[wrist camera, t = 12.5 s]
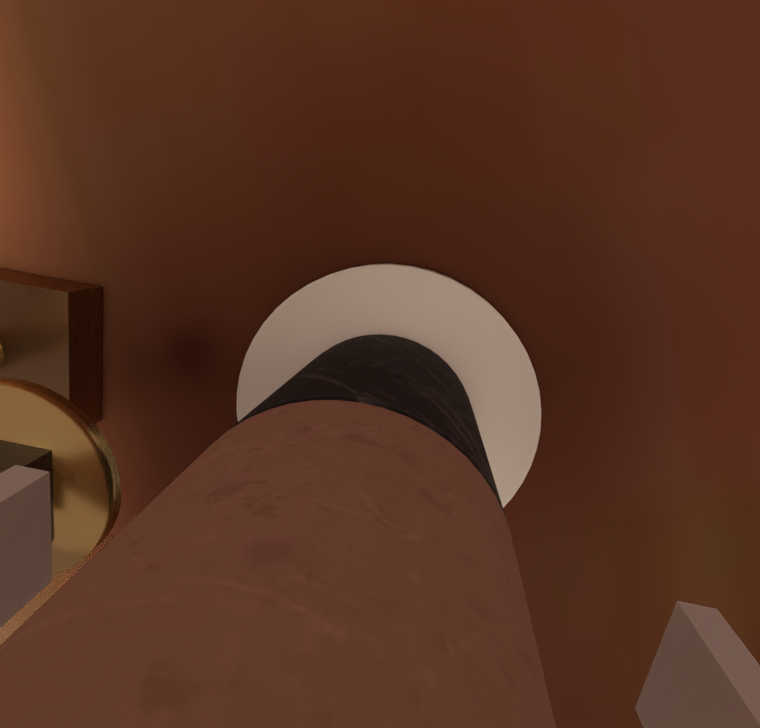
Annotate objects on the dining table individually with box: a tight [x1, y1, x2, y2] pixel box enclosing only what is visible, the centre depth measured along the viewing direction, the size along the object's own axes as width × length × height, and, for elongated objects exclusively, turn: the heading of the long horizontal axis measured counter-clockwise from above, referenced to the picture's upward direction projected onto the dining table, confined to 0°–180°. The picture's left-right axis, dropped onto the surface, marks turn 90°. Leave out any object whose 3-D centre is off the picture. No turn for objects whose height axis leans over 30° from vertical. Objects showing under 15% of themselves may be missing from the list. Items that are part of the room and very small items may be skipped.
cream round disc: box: [236, 263, 541, 507], centre depth 20 cm, size 12×12×1 cm
